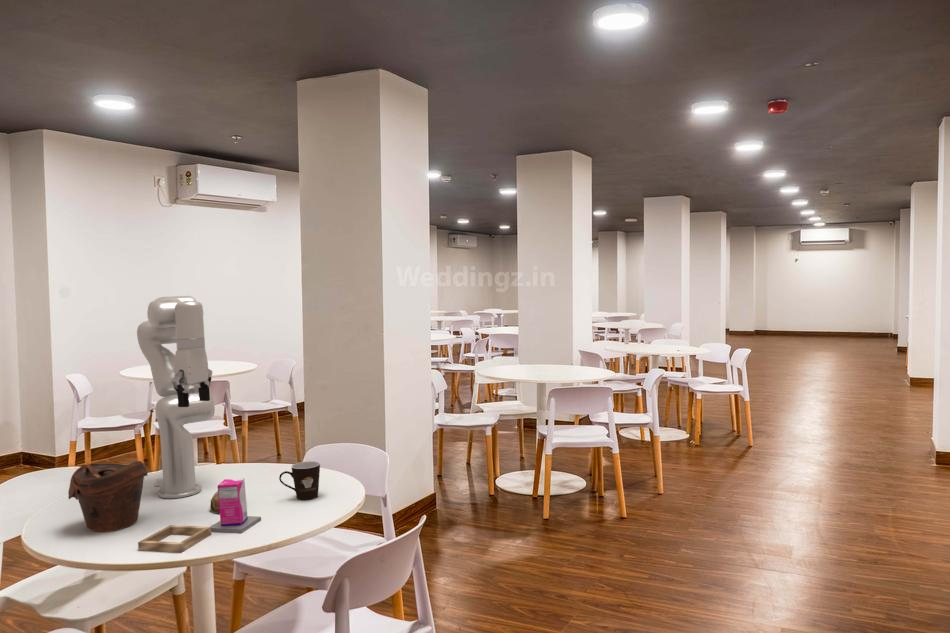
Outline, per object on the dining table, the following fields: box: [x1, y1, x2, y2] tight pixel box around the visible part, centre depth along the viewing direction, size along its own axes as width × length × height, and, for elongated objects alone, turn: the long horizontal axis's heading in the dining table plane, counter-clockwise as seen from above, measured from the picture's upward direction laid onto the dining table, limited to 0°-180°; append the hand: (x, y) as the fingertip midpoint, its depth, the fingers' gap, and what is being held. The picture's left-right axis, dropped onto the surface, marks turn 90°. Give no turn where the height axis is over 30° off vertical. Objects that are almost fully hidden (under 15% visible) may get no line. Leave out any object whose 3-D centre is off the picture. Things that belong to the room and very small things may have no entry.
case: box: [68, 460, 149, 532], centre depth 195 cm, size 18×20×18 cm
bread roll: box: [209, 490, 220, 515], centre depth 206 cm, size 10×10×8 cm
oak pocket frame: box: [137, 524, 212, 553], centre depth 180 cm, size 12×12×2 cm
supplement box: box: [217, 477, 249, 526], centre depth 190 cm, size 6×6×12 cm
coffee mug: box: [278, 460, 321, 501], centre depth 214 cm, size 12×9×10 cm
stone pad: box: [209, 515, 262, 534], centre depth 190 cm, size 10×10×1 cm
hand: (194, 403), depth 200 cm, fingers open, 9 cm apart
